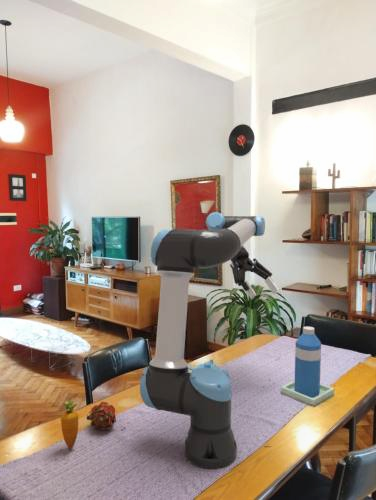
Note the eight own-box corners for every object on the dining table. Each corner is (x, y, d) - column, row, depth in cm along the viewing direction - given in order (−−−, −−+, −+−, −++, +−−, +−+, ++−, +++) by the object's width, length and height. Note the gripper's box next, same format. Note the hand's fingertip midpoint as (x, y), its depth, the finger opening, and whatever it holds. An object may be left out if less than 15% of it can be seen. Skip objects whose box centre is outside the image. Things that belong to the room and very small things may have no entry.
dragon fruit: (107, 442, 122) (95, 429, 132) (126, 419, 125) (114, 409, 136) (89, 424, 119) (79, 412, 130) (110, 401, 123) (98, 392, 133)
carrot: (72, 441, 119) (71, 394, 118) (82, 448, 116) (81, 399, 114) (58, 449, 115) (56, 400, 114) (68, 456, 112) (66, 405, 111)
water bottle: (316, 387, 154) (318, 324, 151) (322, 398, 144) (324, 332, 142) (292, 386, 155) (293, 324, 152) (296, 397, 145) (298, 331, 143)
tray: (313, 407, 140) (313, 400, 140) (280, 393, 150) (281, 387, 150) (334, 395, 149) (334, 388, 149) (301, 382, 160) (302, 377, 159)
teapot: (176, 389, 154) (176, 361, 153) (211, 378, 164) (211, 352, 163) (200, 405, 141) (201, 375, 140) (236, 392, 151) (237, 364, 150)
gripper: (251, 255, 171) (279, 295, 161) (209, 260, 155) (237, 304, 145) (261, 244, 166) (290, 284, 156) (219, 248, 150) (249, 292, 140)
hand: (265, 294), depth 151 cm, fingers open, 13 cm apart
